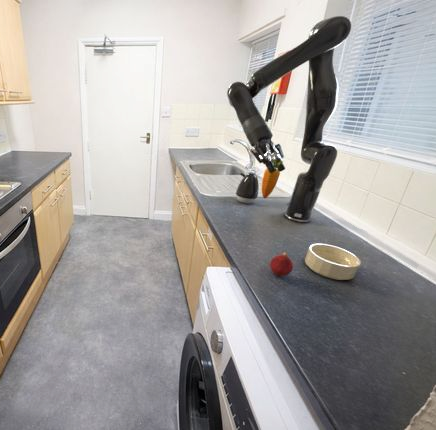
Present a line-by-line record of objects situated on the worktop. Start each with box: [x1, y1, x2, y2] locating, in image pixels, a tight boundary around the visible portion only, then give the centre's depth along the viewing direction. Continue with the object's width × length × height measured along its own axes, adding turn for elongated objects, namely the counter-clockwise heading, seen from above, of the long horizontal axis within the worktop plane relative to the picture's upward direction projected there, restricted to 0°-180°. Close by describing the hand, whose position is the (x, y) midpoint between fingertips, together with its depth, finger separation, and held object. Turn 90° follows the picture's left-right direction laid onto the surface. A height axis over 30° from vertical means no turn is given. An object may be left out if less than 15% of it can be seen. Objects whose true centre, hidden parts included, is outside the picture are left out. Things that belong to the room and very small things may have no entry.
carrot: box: [261, 158, 284, 200], centre depth 96 cm, size 5×5×15 cm
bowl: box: [304, 243, 362, 281], centre depth 83 cm, size 13×13×6 cm
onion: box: [269, 252, 294, 277], centre depth 79 cm, size 6×6×8 cm
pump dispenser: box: [235, 172, 260, 204], centre depth 133 cm, size 10×10×15 cm
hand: (277, 170), depth 93 cm, fingers closed on carrot, 4 cm apart
